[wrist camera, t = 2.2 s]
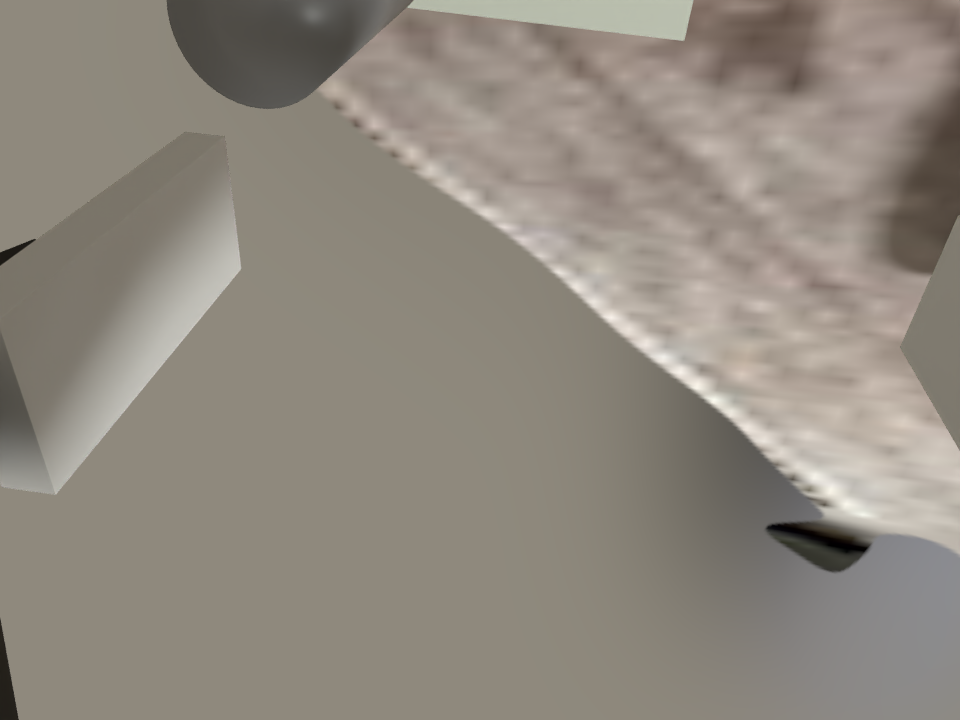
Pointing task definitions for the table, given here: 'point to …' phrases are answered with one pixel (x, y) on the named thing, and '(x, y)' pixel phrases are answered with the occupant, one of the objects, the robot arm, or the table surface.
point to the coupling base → (581, 14)
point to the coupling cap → (274, 43)
